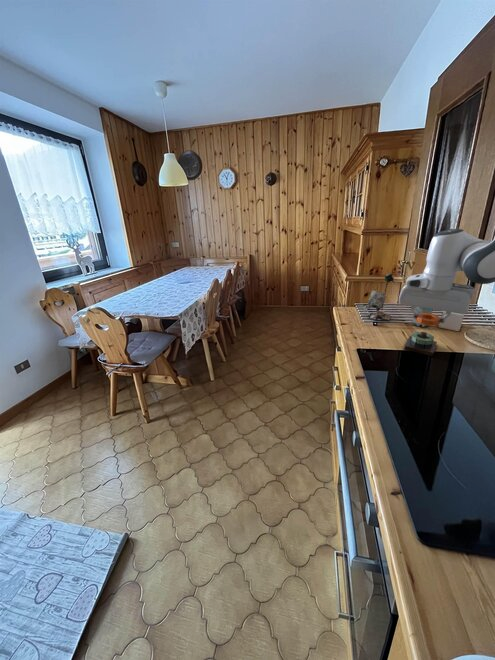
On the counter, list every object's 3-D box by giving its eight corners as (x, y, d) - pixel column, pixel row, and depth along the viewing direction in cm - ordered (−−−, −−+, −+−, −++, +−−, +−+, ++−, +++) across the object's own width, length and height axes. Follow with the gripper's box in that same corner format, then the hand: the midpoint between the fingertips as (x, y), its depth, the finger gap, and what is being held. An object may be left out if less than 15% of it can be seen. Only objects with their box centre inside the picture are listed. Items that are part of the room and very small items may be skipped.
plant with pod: (366, 311, 134) (372, 270, 125) (392, 316, 128) (400, 273, 119) (362, 318, 128) (367, 275, 119) (388, 323, 122) (397, 278, 113)
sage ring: (434, 338, 103) (435, 334, 102) (431, 346, 98) (432, 342, 97) (413, 333, 107) (414, 330, 106) (409, 341, 102) (410, 337, 101)
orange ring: (440, 319, 99) (441, 315, 98) (438, 327, 94) (439, 322, 94) (418, 315, 103) (419, 311, 102) (415, 322, 98) (415, 318, 98)
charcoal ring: (433, 342, 104) (434, 338, 103) (430, 350, 99) (431, 346, 98) (412, 337, 107) (413, 333, 107) (408, 345, 103) (409, 341, 102)
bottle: (425, 321, 122) (436, 276, 113) (432, 328, 116) (445, 281, 107) (408, 321, 123) (418, 276, 114) (415, 328, 117) (426, 281, 108)
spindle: (436, 345, 104) (440, 330, 102) (432, 356, 98) (436, 341, 95) (409, 339, 109) (412, 325, 107) (404, 349, 103) (407, 335, 100)
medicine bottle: (440, 321, 121) (448, 294, 116) (461, 324, 117) (469, 297, 111) (437, 327, 116) (445, 300, 111) (458, 331, 112) (467, 303, 107)
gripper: (477, 282, 89) (465, 322, 95) (405, 275, 100) (398, 311, 106) (476, 288, 84) (463, 329, 91) (401, 280, 96) (394, 317, 102)
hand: (428, 319), depth 99 cm, fingers closed on orange ring, 7 cm apart
